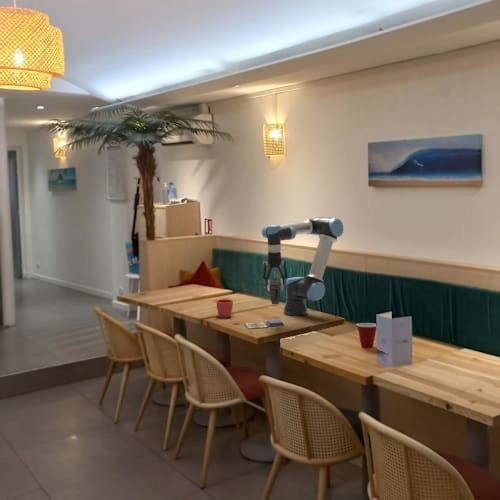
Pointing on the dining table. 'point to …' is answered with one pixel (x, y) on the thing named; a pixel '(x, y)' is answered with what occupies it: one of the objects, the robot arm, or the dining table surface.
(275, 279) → the beverage cup
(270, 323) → the ink pad
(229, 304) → the flower pot
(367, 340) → the plastic cup
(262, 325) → the marked board
